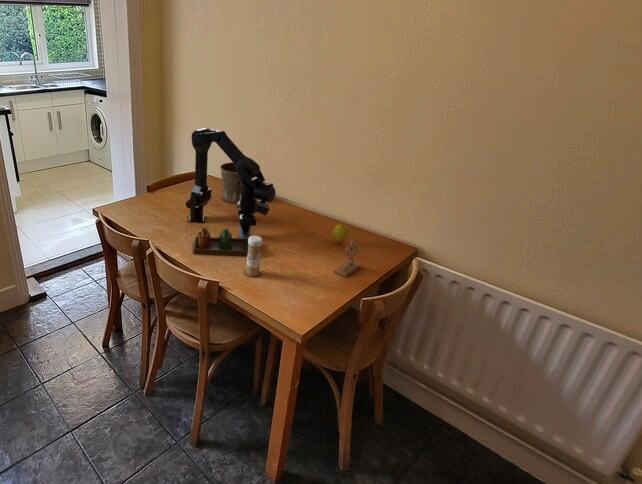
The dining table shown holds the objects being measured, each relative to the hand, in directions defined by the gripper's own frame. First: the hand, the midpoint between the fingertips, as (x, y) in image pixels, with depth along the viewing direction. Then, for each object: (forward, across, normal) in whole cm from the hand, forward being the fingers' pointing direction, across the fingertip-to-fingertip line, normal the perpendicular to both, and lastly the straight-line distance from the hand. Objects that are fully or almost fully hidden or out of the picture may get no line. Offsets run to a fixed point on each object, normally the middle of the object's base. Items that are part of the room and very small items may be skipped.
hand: (244, 232), depth 163 cm
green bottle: (+2, -10, +8) cm, 13 cm away
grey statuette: (+2, -22, -34) cm, 40 cm away
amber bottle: (+2, -10, +16) cm, 19 cm away
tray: (+2, -10, +8) cm, 13 cm away
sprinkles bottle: (+2, -27, -1) cm, 27 cm away
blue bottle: (+2, 0, 0) cm, 2 cm away
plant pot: (+3, +42, +2) cm, 42 cm away
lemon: (+2, -2, -36) cm, 36 cm away
